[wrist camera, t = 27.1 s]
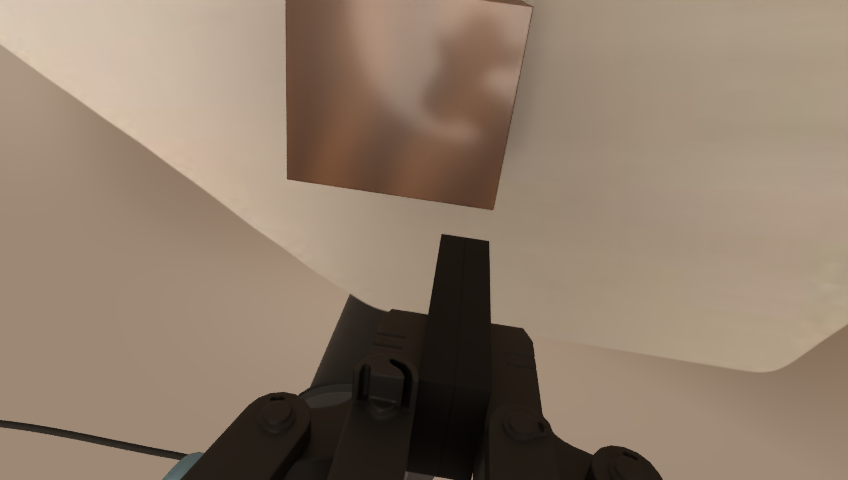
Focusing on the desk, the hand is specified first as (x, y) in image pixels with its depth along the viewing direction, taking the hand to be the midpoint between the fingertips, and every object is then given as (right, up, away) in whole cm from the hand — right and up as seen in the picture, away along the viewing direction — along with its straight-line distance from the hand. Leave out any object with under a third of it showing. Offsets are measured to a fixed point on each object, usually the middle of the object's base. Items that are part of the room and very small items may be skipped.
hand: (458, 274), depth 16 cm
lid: (-3, +11, +21) cm, 24 cm away
